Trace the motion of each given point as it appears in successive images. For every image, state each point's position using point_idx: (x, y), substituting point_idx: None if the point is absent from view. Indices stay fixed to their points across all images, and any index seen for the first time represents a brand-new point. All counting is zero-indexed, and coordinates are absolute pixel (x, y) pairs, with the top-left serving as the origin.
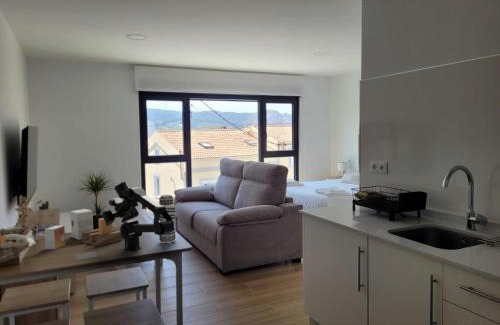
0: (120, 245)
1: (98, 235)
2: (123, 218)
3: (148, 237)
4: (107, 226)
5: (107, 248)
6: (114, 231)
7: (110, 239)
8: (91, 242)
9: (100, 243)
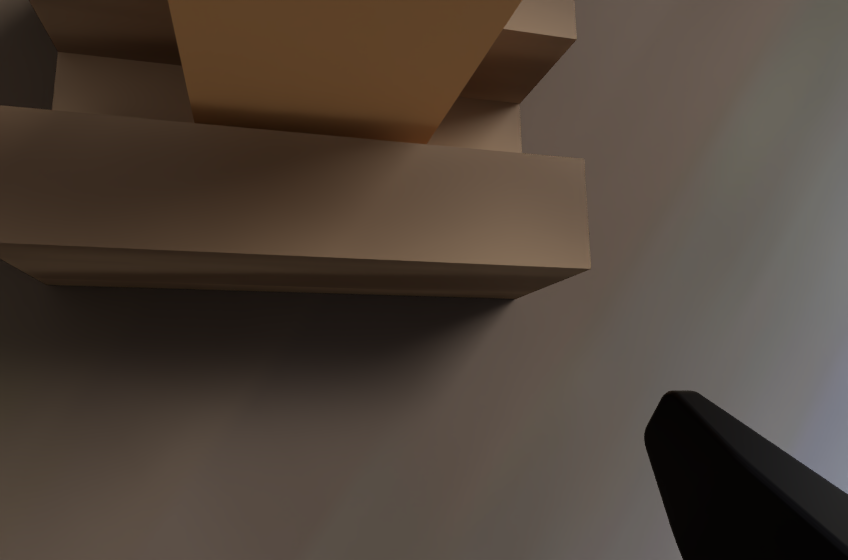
0: (320, 537)
1: None
2: (790, 554)
3: None
4: (368, 35)
5: (58, 511)
6: (551, 56)
7: (296, 279)
8: (57, 38)
9: (63, 275)
